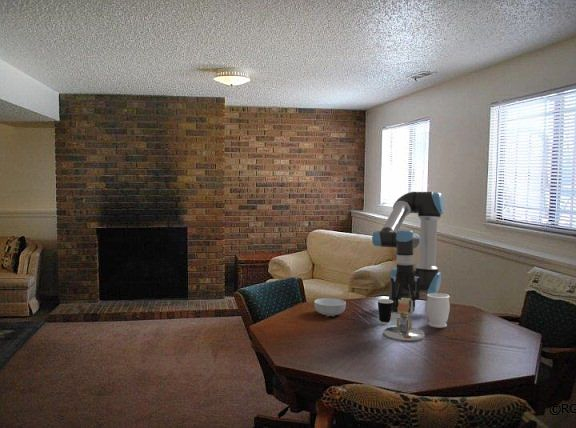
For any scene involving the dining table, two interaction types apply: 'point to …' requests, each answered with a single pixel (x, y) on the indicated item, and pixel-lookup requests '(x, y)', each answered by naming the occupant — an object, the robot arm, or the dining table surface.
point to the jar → (438, 309)
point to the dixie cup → (385, 310)
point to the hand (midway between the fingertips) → (405, 314)
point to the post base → (399, 336)
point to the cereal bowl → (329, 306)
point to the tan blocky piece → (404, 311)
